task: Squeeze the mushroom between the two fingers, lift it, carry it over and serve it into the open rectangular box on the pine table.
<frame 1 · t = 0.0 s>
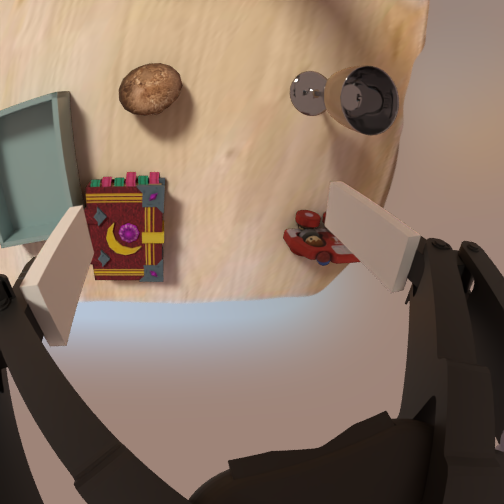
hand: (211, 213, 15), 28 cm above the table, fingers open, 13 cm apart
wine glass: (311, 93, 39), on the table
open rectangular box: (34, 167, 33), on the table
toy fire truck: (311, 227, 51), on the table
decorative book: (128, 220, 42), on the table
mushroom: (151, 88, 33), on the table
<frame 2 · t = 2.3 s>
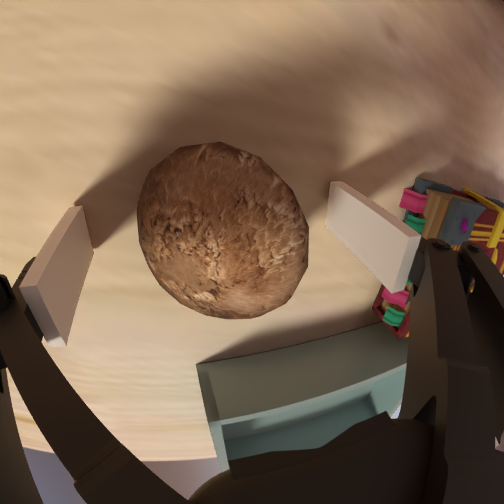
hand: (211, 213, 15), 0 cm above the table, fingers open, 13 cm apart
open rectangular box: (305, 388, 27), on the table
decorative book: (440, 245, 22), on the table
mushroom: (207, 209, 15), on the table
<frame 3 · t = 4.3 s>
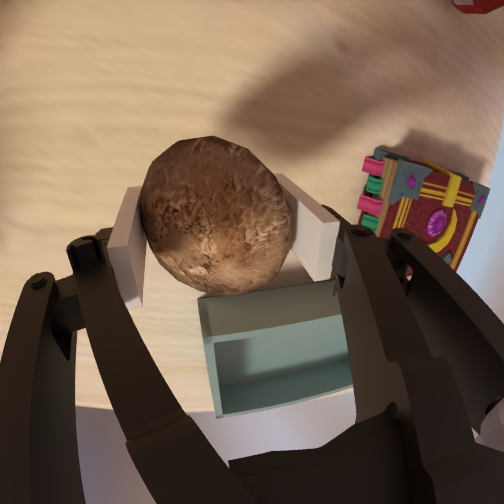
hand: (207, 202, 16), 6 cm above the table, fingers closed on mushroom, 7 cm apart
open rectangular box: (290, 336, 33), on the table
decorative book: (407, 209, 28), on the table
mushroom: (203, 198, 17), point 6 cm above the table, touching gripper
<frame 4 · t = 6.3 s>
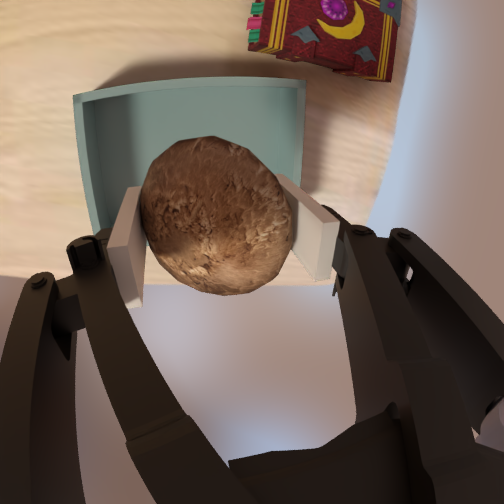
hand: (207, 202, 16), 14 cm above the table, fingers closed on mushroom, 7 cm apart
open rectangular box: (189, 151, 28), on the table
decorative book: (313, 20, 24), on the table
mushroom: (204, 198, 17), point 14 cm above the table, touching gripper
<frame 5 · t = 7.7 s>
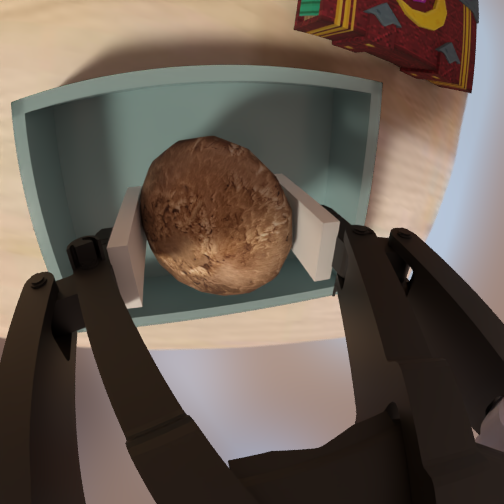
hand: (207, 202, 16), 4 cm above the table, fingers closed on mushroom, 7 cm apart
open rectangular box: (199, 181, 19), on the table
decorative book: (376, 0, 15), on the table
mushroom: (204, 198, 17), point 3 cm above the table, touching gripper
when the fingers open (2 cm above the table, at t = 8.7 s): mushroom drops 1 cm, resting on open rectangular box.
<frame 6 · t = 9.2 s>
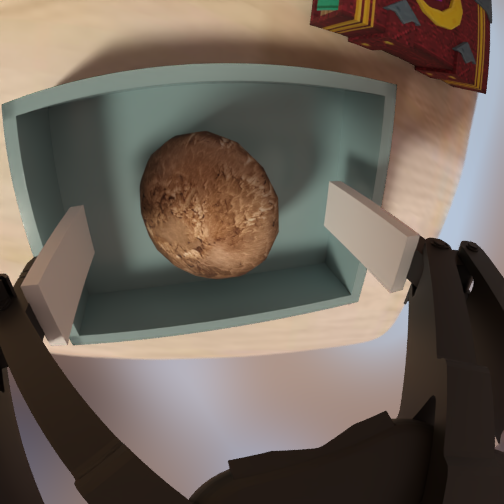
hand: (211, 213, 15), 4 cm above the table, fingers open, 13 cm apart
open rectangular box: (202, 187, 18), on the table
mushroom: (198, 190, 18), point 1 cm above the table, touching open rectangular box
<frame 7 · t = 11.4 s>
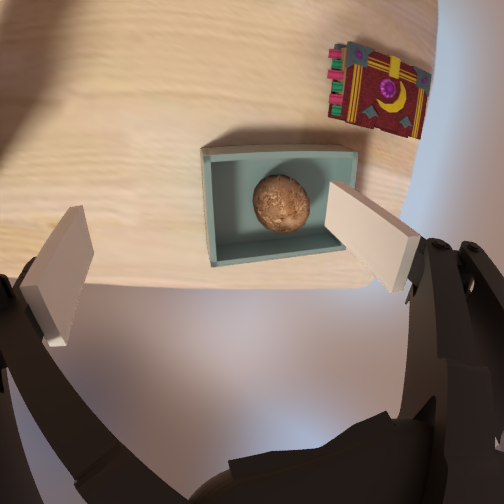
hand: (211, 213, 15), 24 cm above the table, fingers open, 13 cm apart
open rectangular box: (274, 195, 41), on the table
decorative book: (369, 91, 36), on the table
mushroom: (273, 196, 41), point 1 cm above the table, touching open rectangular box
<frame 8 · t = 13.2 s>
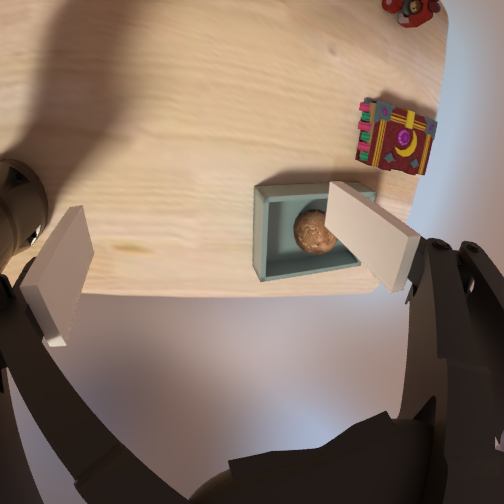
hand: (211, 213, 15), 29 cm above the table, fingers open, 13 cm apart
open rectangular box: (307, 223, 51), on the table
toy fire truck: (396, 0, 32), on the table
decorative book: (387, 135, 47), on the table
mushroom: (307, 224, 51), point 1 cm above the table, touching open rectangular box
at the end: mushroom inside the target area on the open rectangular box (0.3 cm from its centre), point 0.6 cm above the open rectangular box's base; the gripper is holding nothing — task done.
